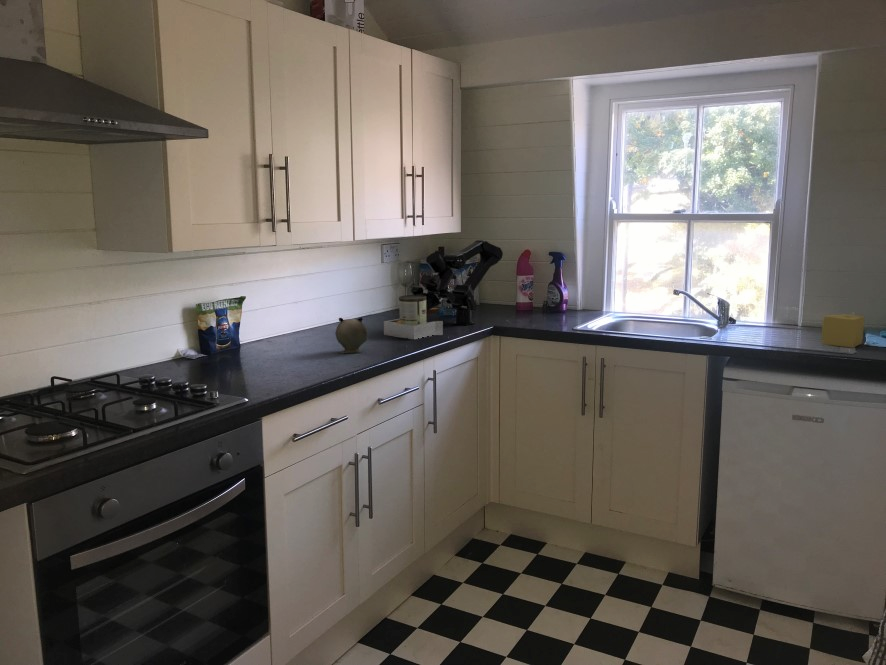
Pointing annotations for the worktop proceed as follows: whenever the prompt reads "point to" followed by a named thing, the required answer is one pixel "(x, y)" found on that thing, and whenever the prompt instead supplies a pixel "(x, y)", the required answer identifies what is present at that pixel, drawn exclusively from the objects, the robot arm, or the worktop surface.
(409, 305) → the coffee can
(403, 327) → the grey bent block
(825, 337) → the cheese
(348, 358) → the worktop surface
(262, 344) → the worktop surface
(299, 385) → the worktop surface
